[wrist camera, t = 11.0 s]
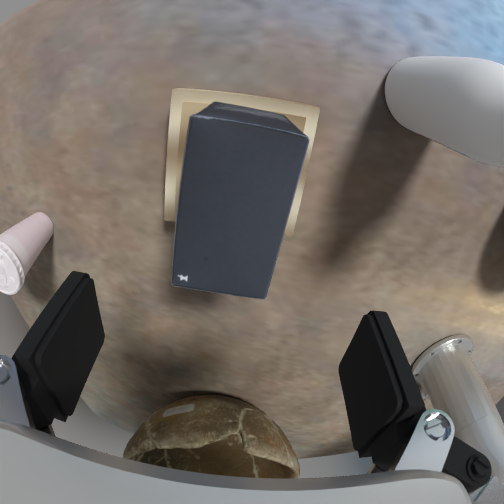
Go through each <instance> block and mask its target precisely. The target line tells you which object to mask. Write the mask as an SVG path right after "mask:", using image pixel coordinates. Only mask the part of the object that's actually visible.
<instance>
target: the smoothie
mask: <svg viewBox="0 0 504 504" xmlns="http://www.w3.org/2000/svg"><path fill="white" fill-rule="evenodd" d="M52 235H53V224H52V222H51V220H50V218H49V217H48V216H47V215H46V214H44V213H42V212H37V213H34V214H33V215H31V216H29V217H28V218H26V219H24V220H23V221H21V222H19V223H18V224H16V225H14V226H13V227H11V228H10V229H8V230H6V231H5V232H3V233H2V234H0V292H2V293H4V294H8V295H13V294H15V293H17V292H18V291H19V289H21V288H22V286H23V284H24V278H25V276H26V275H27V273H28V271H29V270H30V268H31V266H32V265H33V263H34V262H35V260H36V259H37V257H38V256H39V254H40V252H41V251H42V249H43V248H44V246H45V245H46V244H47V242H48V241H49V239H50V238H51V236H52Z"/></svg>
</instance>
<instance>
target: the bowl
mask: <svg viewBox="0 0 504 504" xmlns="http://www.w3.org/2000/svg"><path fill="white" fill-rule="evenodd" d="M123 458H125V459H129V460H133V461H137V462H142V463H146V464H151V465H156V466H161V467H166V468H171V469H177V470H183V471H190V472H197V473H204V474H212V475H222V476H233V477H247V478H272V479H298V477H299V475H300V467H299V462H298V459H297V457H296V455H295V452H294V451H293V449H292V446H291V444H290V442H289V440H288V439H287V437H286V436H285V434H284V432H283V431H282V430H281V429H280V427H279V426H278V425H277V424H276V423H275V422H274V421H273V420H271V419H270V418H269V417H268V416H267V415H266V414H265V413H264V412H263V411H262V410H260V409H258V408H256V407H255V406H253V405H251V404H249V403H246V402H244V401H241V400H238V399H235V398H231V397H227V396H222V395H200V396H191V397H187V398H183V399H180V400H177V401H175V402H172V403H170V404H168V405H166V406H165V407H163V408H160V409H158V410H157V411H155V412H154V413H152V414H151V415H149V416H148V420H147V421H146V422H144V423H143V424H142V425H141V427H140V428H139V429H138V430H137V432H136V433H135V434H134V435H133V437H132V438H131V439H130V441H129V442H128V444H127V446H126V448H125V451H124V454H123Z"/></svg>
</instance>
